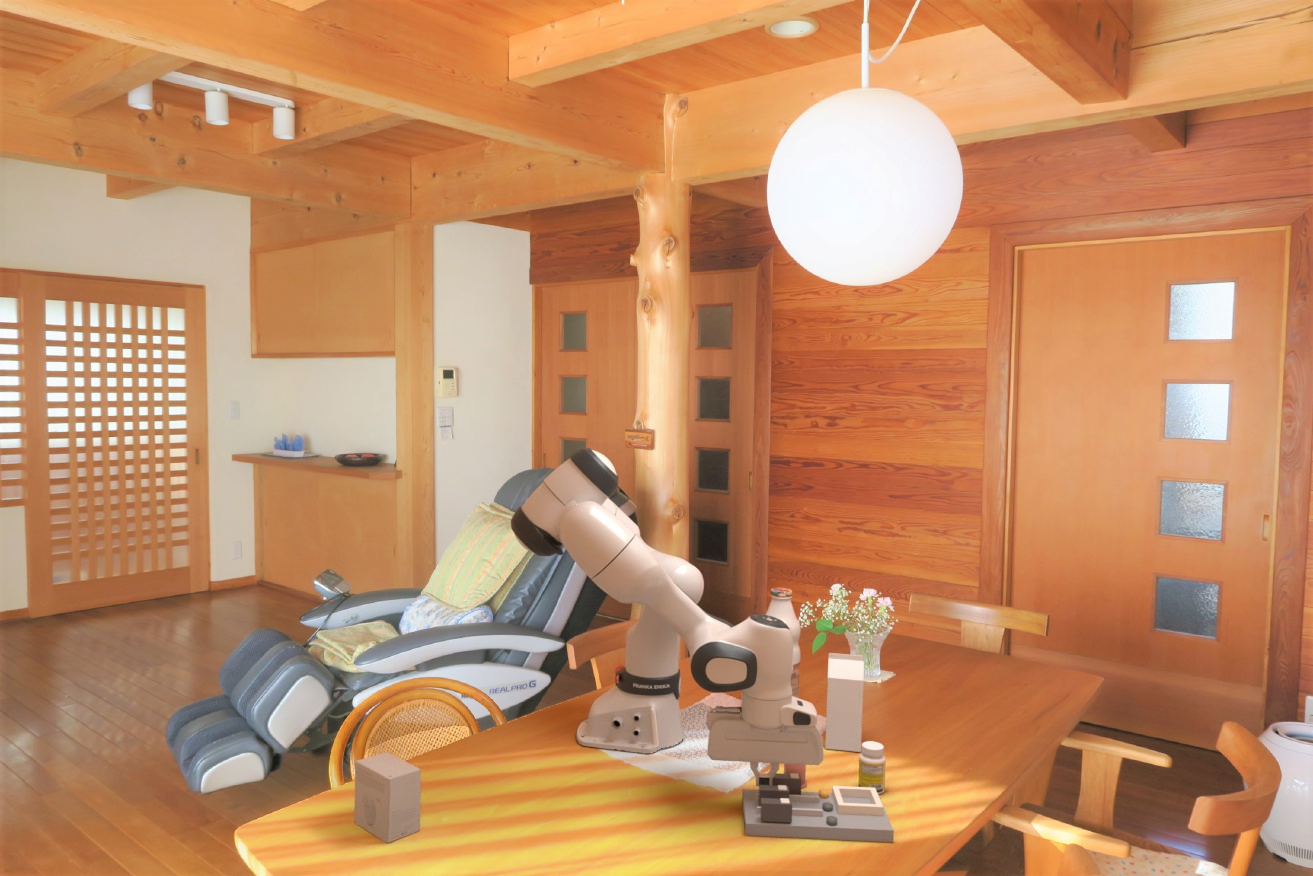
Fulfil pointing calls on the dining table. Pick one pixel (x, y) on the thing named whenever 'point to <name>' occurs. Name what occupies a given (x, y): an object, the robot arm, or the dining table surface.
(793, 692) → the fruit juice
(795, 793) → the block
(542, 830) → the dining table surface
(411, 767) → the skincare box
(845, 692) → the milk carton
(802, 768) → the cap
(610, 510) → the robot arm
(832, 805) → the panel
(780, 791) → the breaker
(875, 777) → the supplement bottle
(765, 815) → the block
